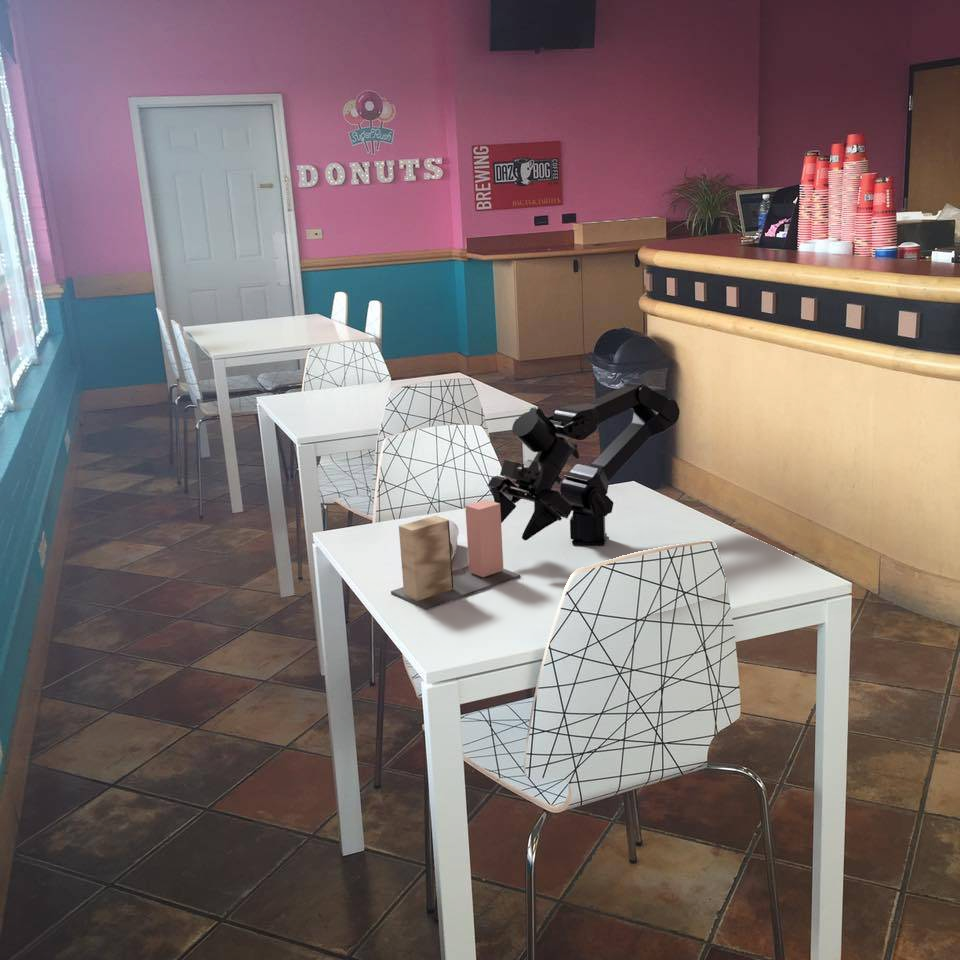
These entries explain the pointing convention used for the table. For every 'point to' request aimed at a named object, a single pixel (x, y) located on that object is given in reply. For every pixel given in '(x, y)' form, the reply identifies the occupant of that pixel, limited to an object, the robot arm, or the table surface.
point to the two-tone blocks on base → (437, 566)
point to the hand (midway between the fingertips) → (507, 534)
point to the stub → (484, 538)
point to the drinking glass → (453, 537)
